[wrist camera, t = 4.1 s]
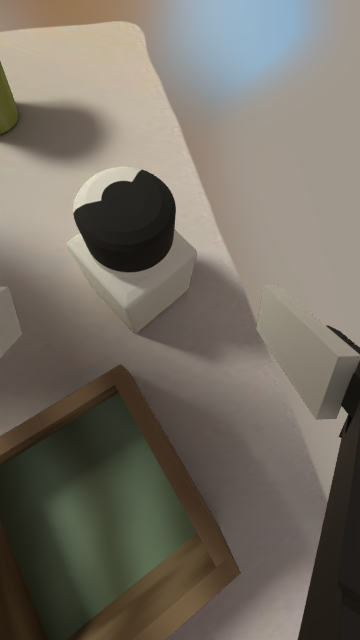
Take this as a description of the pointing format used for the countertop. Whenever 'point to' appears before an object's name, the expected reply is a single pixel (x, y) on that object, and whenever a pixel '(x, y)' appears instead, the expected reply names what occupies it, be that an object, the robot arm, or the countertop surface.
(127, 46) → the countertop surface
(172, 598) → the walnut drop box
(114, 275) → the medicine bottle
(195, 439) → the countertop surface
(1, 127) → the plant pot
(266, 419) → the countertop surface
